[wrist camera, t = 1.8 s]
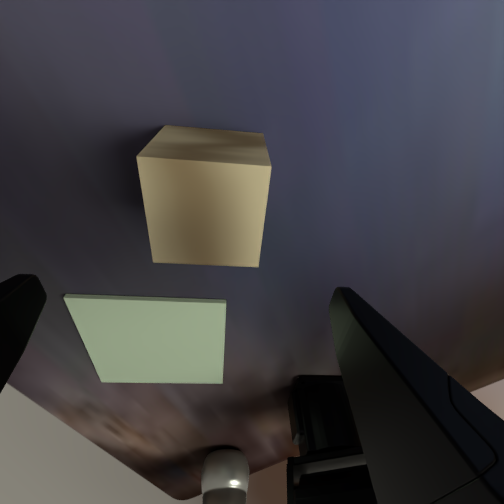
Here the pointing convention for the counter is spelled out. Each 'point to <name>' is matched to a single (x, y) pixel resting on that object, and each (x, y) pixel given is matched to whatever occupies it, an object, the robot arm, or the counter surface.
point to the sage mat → (152, 337)
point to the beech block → (205, 195)
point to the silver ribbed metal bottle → (225, 477)
